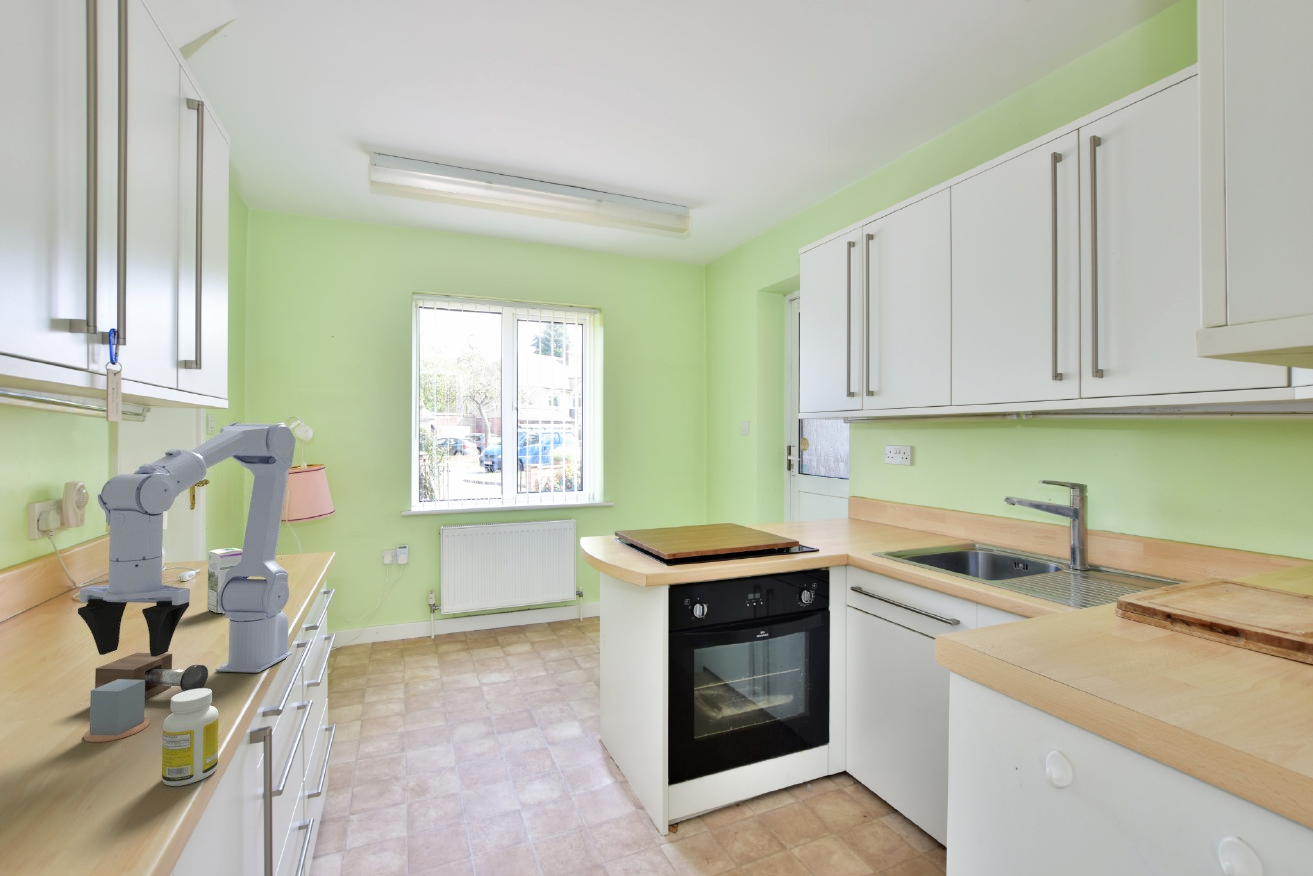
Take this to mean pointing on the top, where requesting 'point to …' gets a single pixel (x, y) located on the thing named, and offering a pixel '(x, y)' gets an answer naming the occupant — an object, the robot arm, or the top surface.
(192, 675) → the rod
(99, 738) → the plate
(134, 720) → the block
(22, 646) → the top surface
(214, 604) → the syrup box
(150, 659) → the rod housing
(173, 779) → the supplement bottle
